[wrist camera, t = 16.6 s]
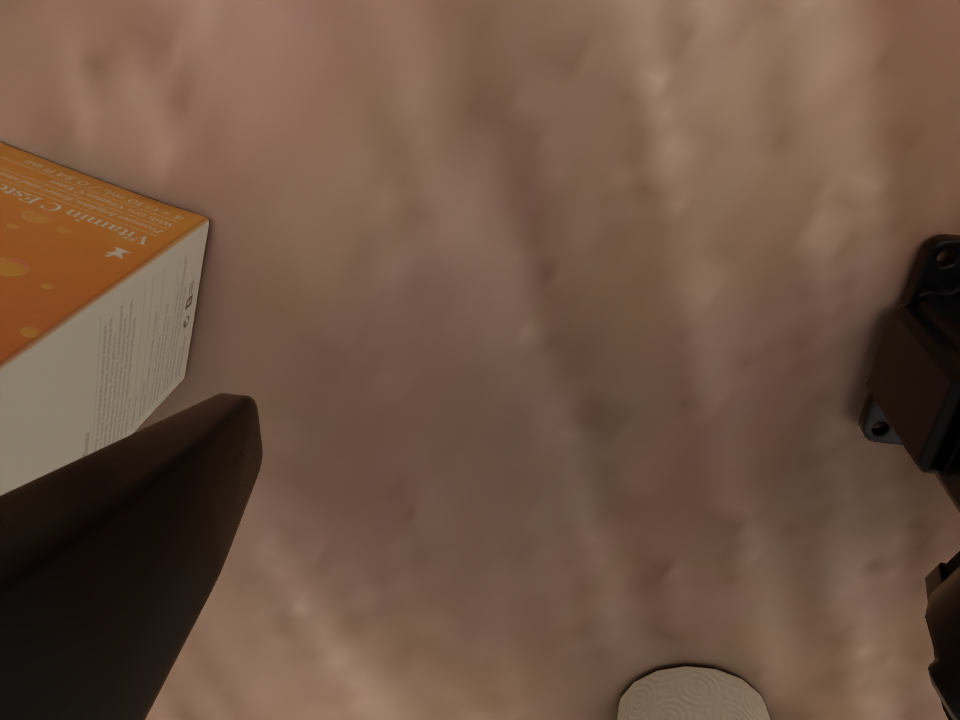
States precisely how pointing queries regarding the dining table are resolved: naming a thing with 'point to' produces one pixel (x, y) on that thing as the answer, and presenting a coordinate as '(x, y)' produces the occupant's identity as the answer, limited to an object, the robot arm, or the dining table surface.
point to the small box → (86, 312)
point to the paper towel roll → (691, 697)
